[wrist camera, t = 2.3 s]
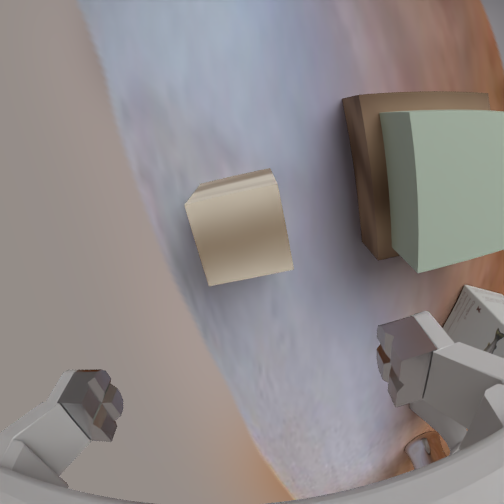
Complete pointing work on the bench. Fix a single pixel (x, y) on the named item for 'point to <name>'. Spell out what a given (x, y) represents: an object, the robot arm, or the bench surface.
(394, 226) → the tower top block
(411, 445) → the beer glass
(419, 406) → the flask
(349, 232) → the bench surface
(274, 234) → the birch block
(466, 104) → the tower base slab
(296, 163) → the bench surface
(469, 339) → the supplement box
